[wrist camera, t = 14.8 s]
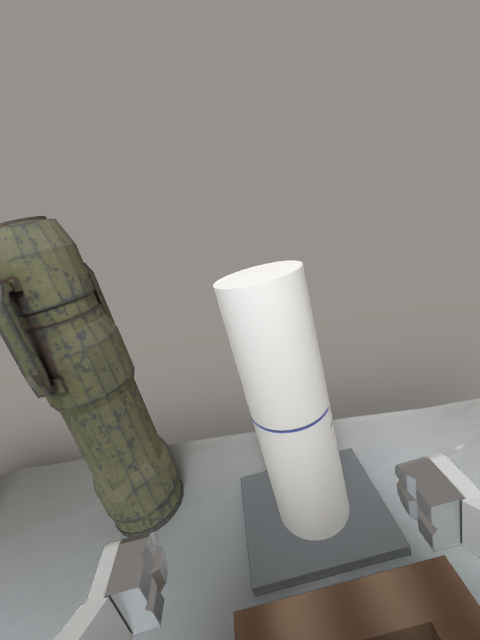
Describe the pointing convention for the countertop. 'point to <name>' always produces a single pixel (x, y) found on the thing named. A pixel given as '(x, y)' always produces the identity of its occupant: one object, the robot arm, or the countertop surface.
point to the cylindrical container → (286, 393)
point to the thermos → (84, 371)
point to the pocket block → (372, 609)
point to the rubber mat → (323, 555)
